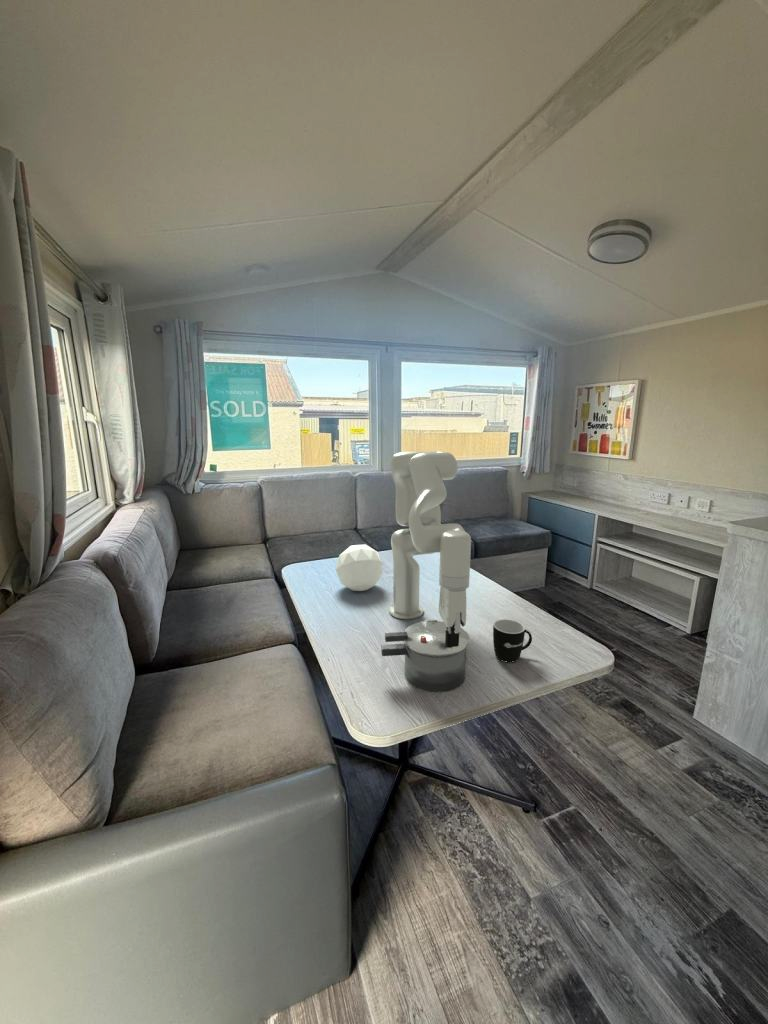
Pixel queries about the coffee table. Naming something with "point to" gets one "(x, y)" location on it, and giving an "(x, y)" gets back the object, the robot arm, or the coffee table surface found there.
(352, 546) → the geometric polyhedron
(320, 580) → the coffee table surface
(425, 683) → the pot
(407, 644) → the lid
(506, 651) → the mug
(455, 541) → the robot arm
